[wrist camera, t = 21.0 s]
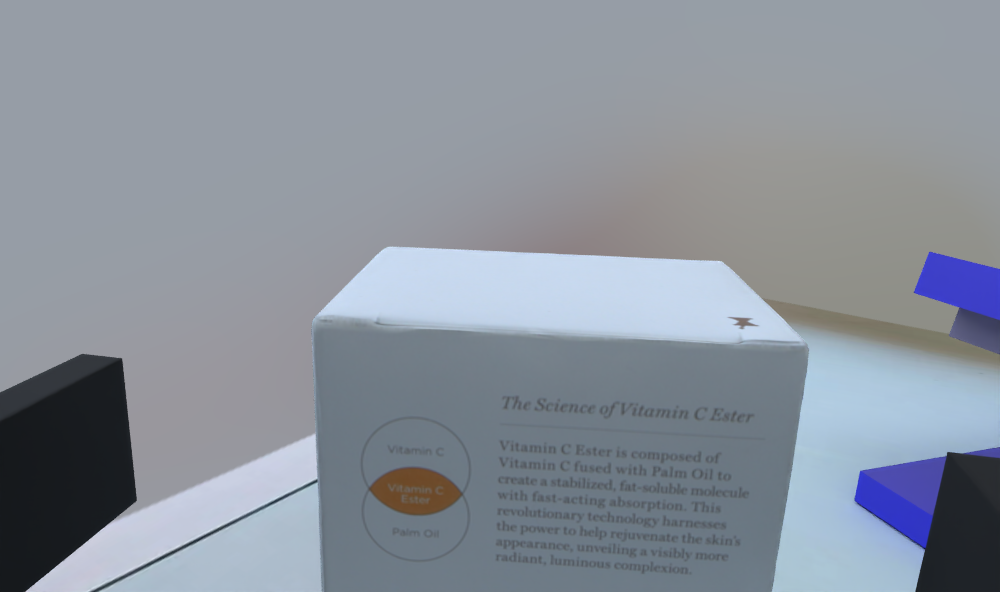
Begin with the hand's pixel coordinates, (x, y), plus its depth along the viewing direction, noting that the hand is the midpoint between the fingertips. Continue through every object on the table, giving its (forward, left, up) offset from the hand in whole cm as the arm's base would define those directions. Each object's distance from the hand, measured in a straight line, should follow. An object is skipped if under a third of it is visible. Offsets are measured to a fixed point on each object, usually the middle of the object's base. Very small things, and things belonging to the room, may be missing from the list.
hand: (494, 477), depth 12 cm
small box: (0, +3, -8) cm, 9 cm away
